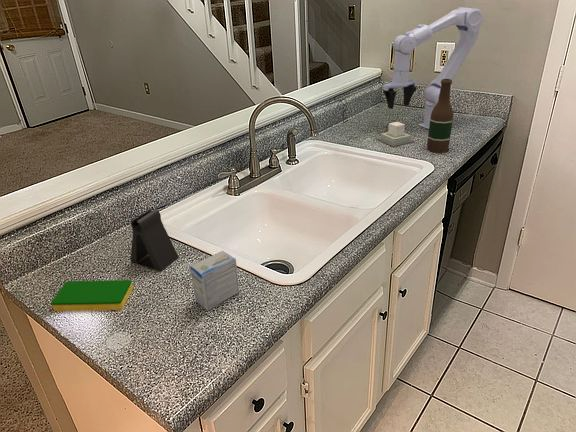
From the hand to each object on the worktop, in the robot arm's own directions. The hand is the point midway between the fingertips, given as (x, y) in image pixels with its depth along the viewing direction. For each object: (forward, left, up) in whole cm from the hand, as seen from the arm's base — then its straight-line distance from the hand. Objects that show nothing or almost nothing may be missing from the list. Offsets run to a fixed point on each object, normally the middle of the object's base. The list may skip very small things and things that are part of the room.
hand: (398, 106), depth 172 cm
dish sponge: (+119, +50, -10) cm, 129 cm away
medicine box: (+97, +62, -10) cm, 116 cm away
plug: (+8, +9, -9) cm, 15 cm away
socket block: (+8, +9, -9) cm, 15 cm away
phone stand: (+105, +42, -10) cm, 113 cm away
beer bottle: (+2, +24, -10) cm, 26 cm away
